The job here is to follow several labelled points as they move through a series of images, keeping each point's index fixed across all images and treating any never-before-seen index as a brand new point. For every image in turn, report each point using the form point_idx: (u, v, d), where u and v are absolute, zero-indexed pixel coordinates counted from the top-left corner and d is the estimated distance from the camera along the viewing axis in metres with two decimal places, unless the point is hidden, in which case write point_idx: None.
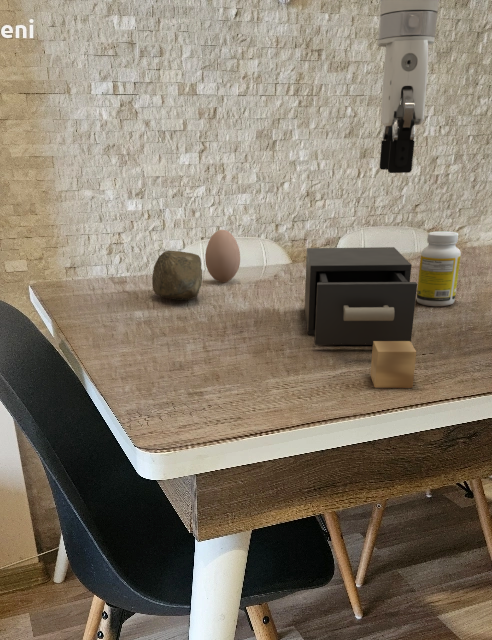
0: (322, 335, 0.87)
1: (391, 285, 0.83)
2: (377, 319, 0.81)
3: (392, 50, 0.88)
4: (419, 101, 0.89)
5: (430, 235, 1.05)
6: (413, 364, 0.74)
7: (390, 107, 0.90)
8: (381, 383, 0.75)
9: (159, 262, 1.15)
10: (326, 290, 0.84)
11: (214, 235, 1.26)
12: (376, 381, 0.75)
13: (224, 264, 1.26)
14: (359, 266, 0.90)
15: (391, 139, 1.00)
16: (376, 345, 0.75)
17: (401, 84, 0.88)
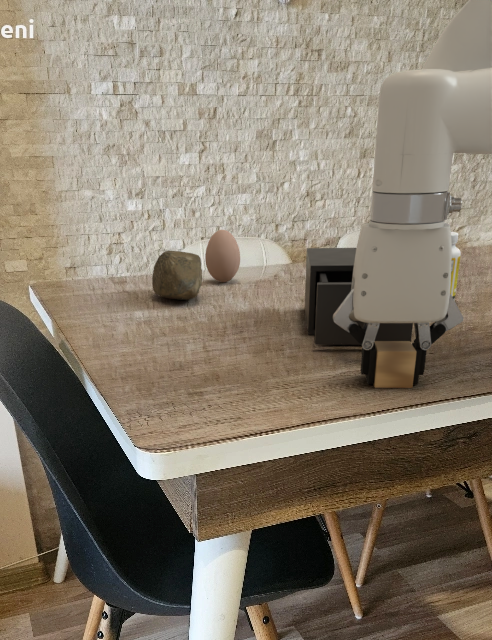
0: (322, 335, 0.87)
1: None
2: None
3: (443, 237, 0.67)
4: None
5: None
6: (413, 364, 0.74)
7: (446, 303, 0.70)
8: (381, 383, 0.75)
9: (159, 262, 1.15)
10: (326, 290, 0.84)
11: (214, 235, 1.26)
12: (376, 381, 0.75)
13: (224, 264, 1.26)
14: None
15: None
16: (376, 345, 0.75)
17: None
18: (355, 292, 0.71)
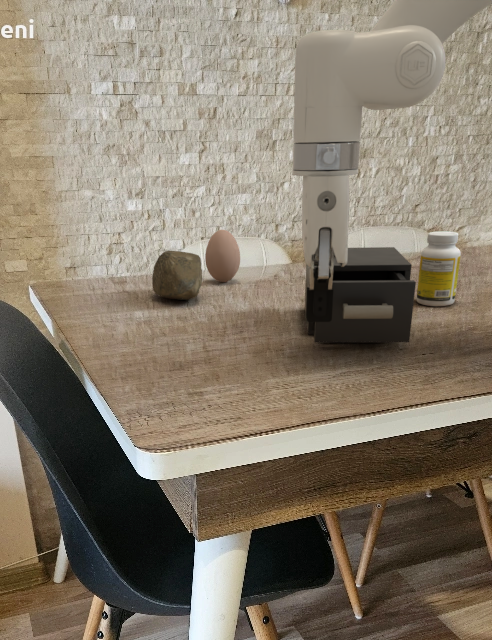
0: (322, 333, 0.88)
1: (390, 283, 0.84)
2: (376, 317, 0.82)
3: (307, 186, 0.74)
4: (340, 244, 0.75)
5: (430, 235, 1.05)
6: None
7: (307, 249, 0.76)
8: None
9: (159, 262, 1.15)
10: None
11: (214, 235, 1.26)
12: None
13: (224, 264, 1.26)
14: (359, 266, 0.90)
15: None
16: None
17: (318, 225, 0.75)
18: None
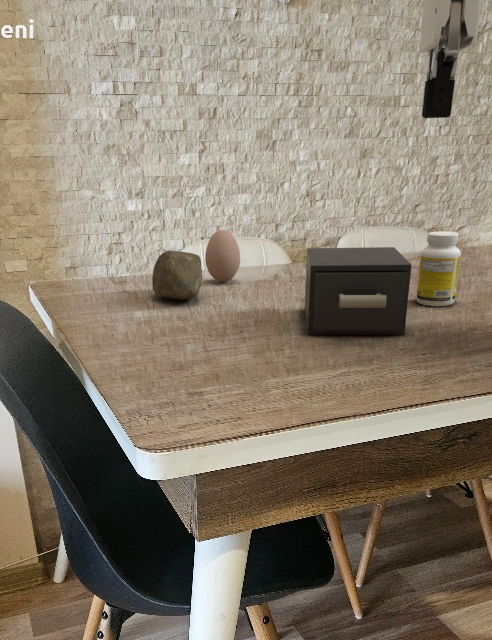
0: (320, 322, 0.93)
1: (383, 274, 0.90)
2: (370, 306, 0.88)
3: None
4: (473, 14, 0.73)
5: (430, 235, 1.05)
6: None
7: (437, 22, 0.74)
8: None
9: (159, 262, 1.15)
10: (323, 279, 0.90)
11: (214, 235, 1.26)
12: None
13: (224, 264, 1.26)
14: (359, 266, 0.90)
15: None
16: None
17: None
18: None
